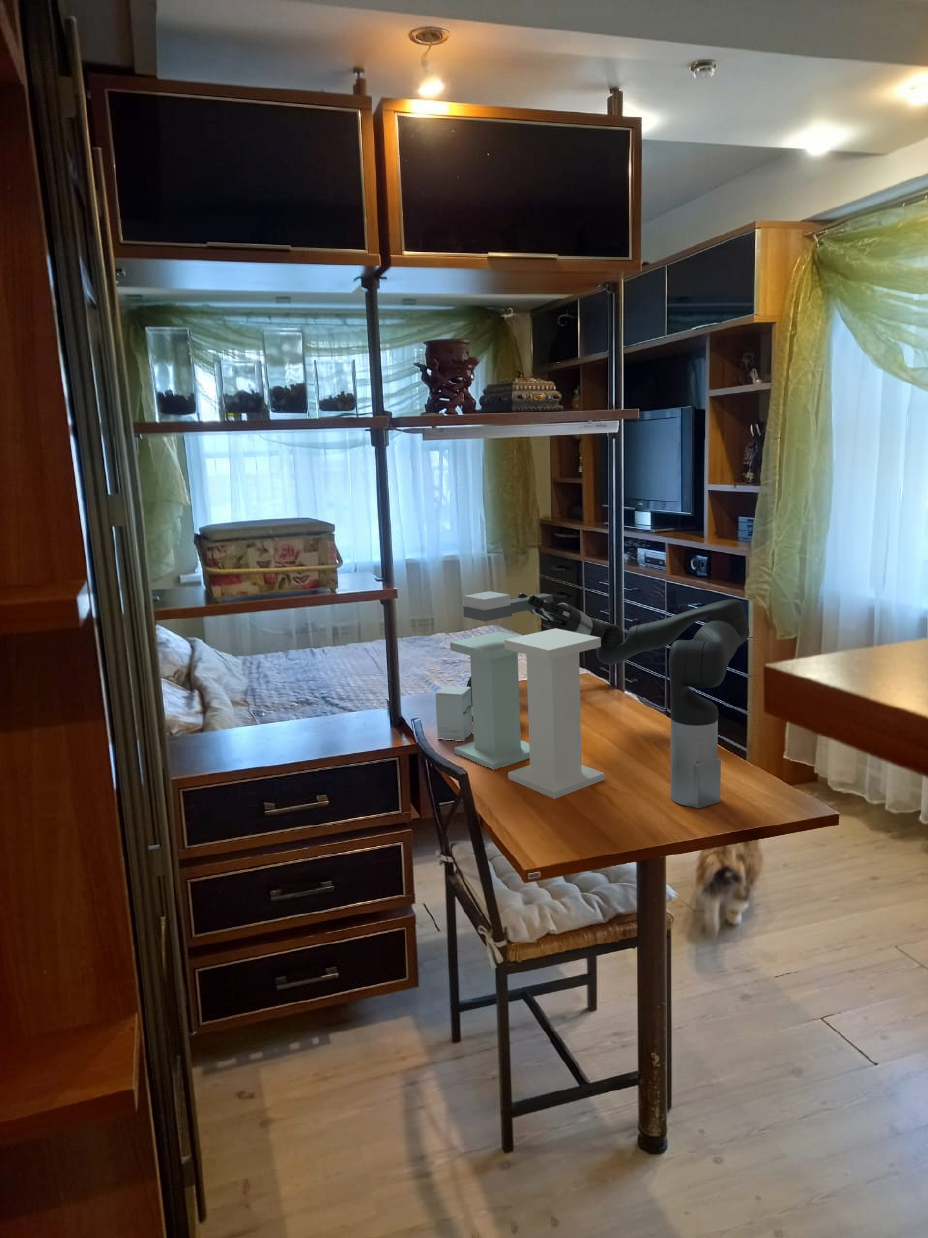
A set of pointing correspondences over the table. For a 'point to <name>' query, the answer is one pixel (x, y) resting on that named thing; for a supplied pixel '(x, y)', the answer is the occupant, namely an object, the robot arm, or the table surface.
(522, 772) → the tall pedestal
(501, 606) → the block
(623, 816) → the table surface
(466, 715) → the supplement box
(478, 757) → the low pedestal
